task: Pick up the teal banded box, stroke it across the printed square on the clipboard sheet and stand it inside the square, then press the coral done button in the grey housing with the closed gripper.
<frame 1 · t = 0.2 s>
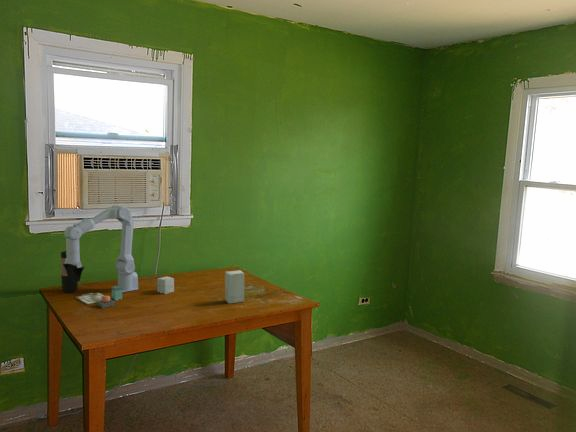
hand: (73, 279, 232), 10 cm above the table, fingers open, 7 cm apart
travel mug: (69, 291, 248), on the table
skincare box: (165, 292, 251), on the table
done button: (106, 299, 226), point 3 cm above the table, slide at 0.0 cm
teal banded box: (117, 299, 237), on the table
skincare box 2: (234, 301, 239), on the table
button housing: (106, 305, 226), on the table
clipboard with paper sheet: (93, 299, 235), on the table
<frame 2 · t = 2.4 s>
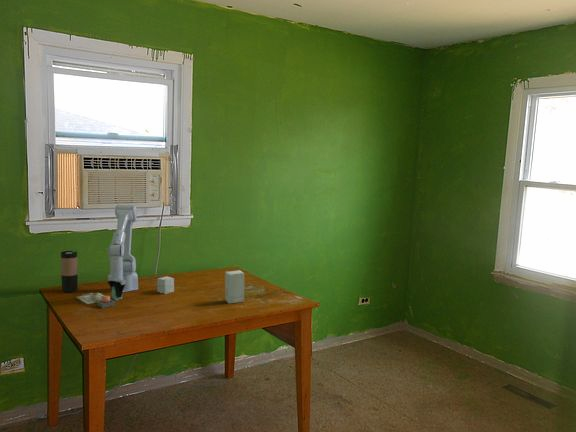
hand: (116, 296, 236), 1 cm above the table, fingers closed on teal banded box, 4 cm apart
teal banded box: (116, 299, 237), on the table, touching gripper
everything else where it was.
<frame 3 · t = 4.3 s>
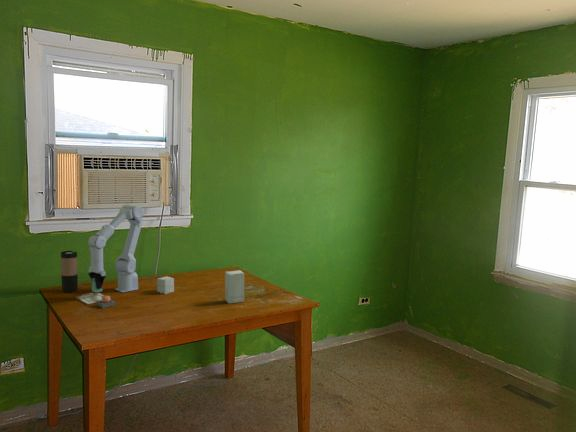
hand: (97, 287, 237), 5 cm above the table, fingers closed on teal banded box, 4 cm apart
teal banded box: (97, 290, 237), point 3 cm above the table, touching gripper
everything else where it was.
when the fingers open (3 cm above the table, at t = 6.2 s): teal banded box stays where it is, resting on clipboard with paper sheet.
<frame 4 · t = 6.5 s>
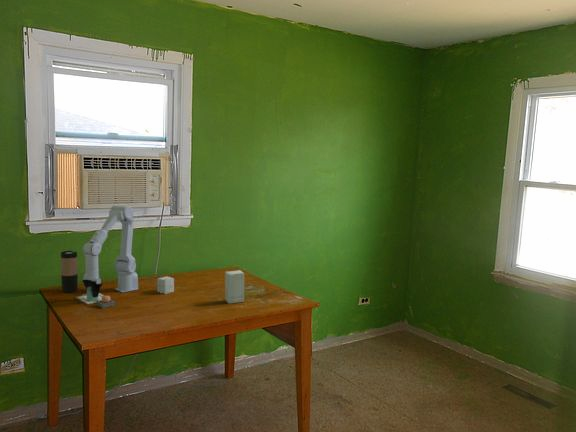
hand: (92, 295, 232), 3 cm above the table, fingers open, 6 cm apart
teal banded box: (92, 299, 232), point 1 cm above the table, touching clipboard with paper sheet
everything else where it was.
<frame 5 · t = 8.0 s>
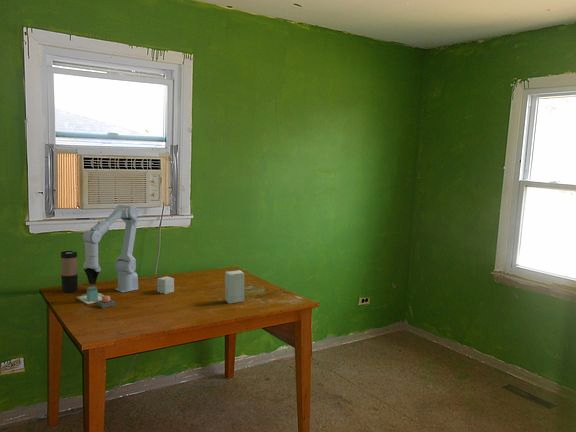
hand: (92, 283, 232), 8 cm above the table, fingers closed
nothing on the table moved.
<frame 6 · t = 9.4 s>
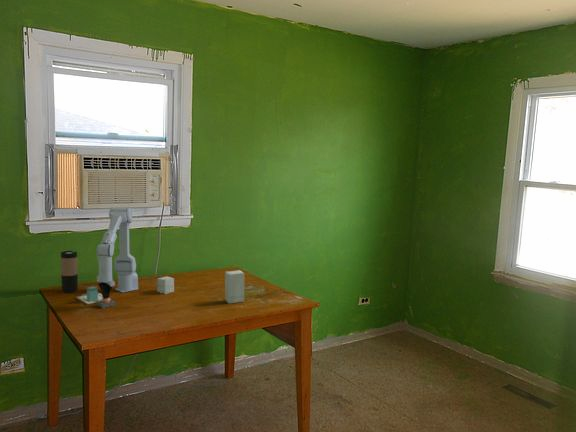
hand: (105, 298, 226), 4 cm above the table, fingers closed, pressing on done button
done button: (106, 301, 226), point 2 cm above the table, slide at 0.7 cm, touching gripper
everything else where it was.
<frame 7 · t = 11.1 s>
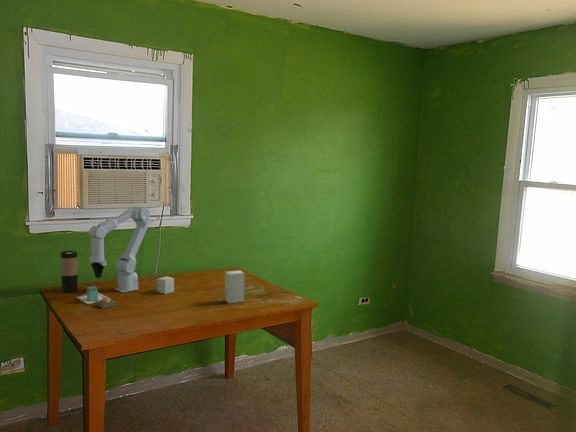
hand: (98, 277, 239), 9 cm above the table, fingers closed
done button: (106, 301, 226), point 2 cm above the table, slide at 0.9 cm
everything else where it was.
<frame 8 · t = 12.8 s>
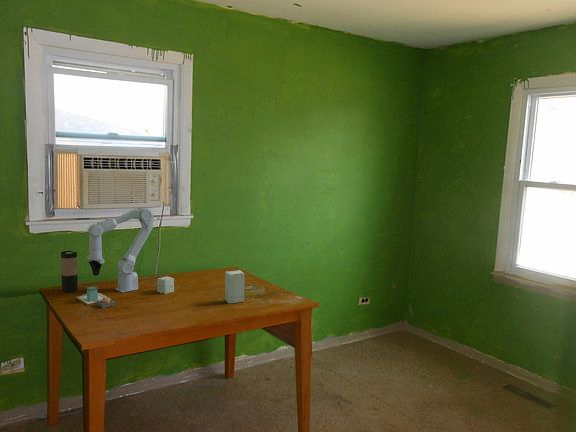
hand: (96, 275, 243), 9 cm above the table, fingers closed
nothing on the table moved.
at the end: done button slide at 0.9 cm; teal banded box inside the target area (2.2 cm from its centre), point 0.5 cm above the table; teal banded box tilted 0° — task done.
